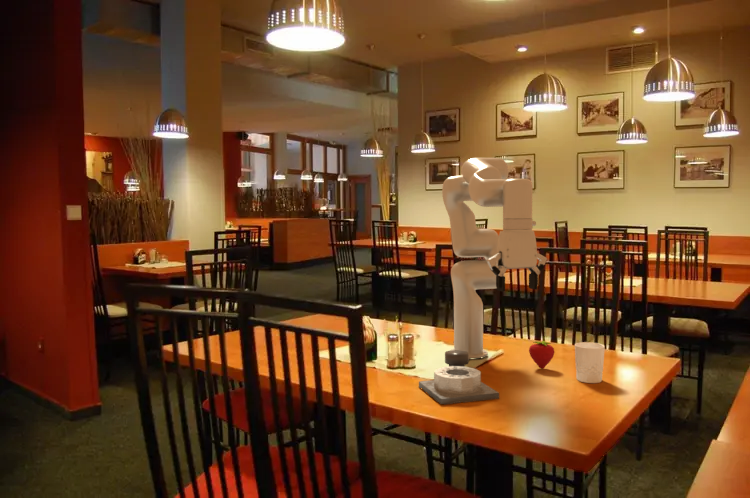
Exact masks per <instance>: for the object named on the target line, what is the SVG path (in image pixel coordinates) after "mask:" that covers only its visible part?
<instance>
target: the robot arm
mask: <svg viewBox="0 0 750 498" xmlns="http://www.w3.org/2000/svg"><path fill="white" fill-rule="evenodd" d="M460 168H461V170H460V174H461V175H454V176H449V177H447V178H446V179H445V180H444V181H443V183H442V189H441V191H442V193H441V194H442V200H443V204H444V207H445V209H446V212H447V214H448V217H449V218H448V219H449V223H450V224H449V225H450V235H451V243H452V249H453V253H454V255H455V256H457V257H458V258H484V259H485V260H477V259H476V260H474V259H473V260H461V261H458V262H456V263H454V264H453V265H452V266H451V269H450V279H451V285H452V291H453V292H452V293H453V330H454V331H453V348H452V349H450V350H449V351H451V350H461V351H466V352H468V353H469V360H471V359H470V358H481V357H485V356H487V355H488V353H489V352H488V351H487V350H485V349H484V304H483V301H482V298H481V297H480V295H478V293H477V292H476V290H490V289H491V290H492V289H496V290H497V291H498V292H505V291H506V276H505V273H506V271H508V270H514V269H520V270H521V269H528V271H529V272H530V273H529V274H528V288H529V289H530V290H538V285H539V275H540V274H541V271H542V270H543V269H544V268H545V265H546V262H547V260H548V258H547V256H544V255H542V254H540V253H539V252H538V247H537V239H536V234H535V230H533V228H534V227H535V226H536V225H537V222H536V221H535V220H534V219H533V182H532V180H530V179H529V178H509V166H508V164H507V162H506V161H505V160H504V159H502V158H501V157H472V158H470V159H469V158H468V159H467V160H465V161H464V162H463V164H462V166H461V167H460ZM469 201H470V202H474V203H475V204H477V205H478V206H480V207H484V208H485V207H486V208H488V207H490V208H491V207H492V208H493V207H494V208H495V207H496V208H497V207H498V208H499V207H502V230H500V231H499V233H498V232H497V231H495V229H492V228H478V227H477V225H476V224H477V223H476V216H475V213H474V212H473V210H472V209H471V208H470V206H469V205H467V203H465V202H469ZM487 357H488V356H487ZM485 358H486V357H485ZM481 359H482V358H481Z"/></svg>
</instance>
